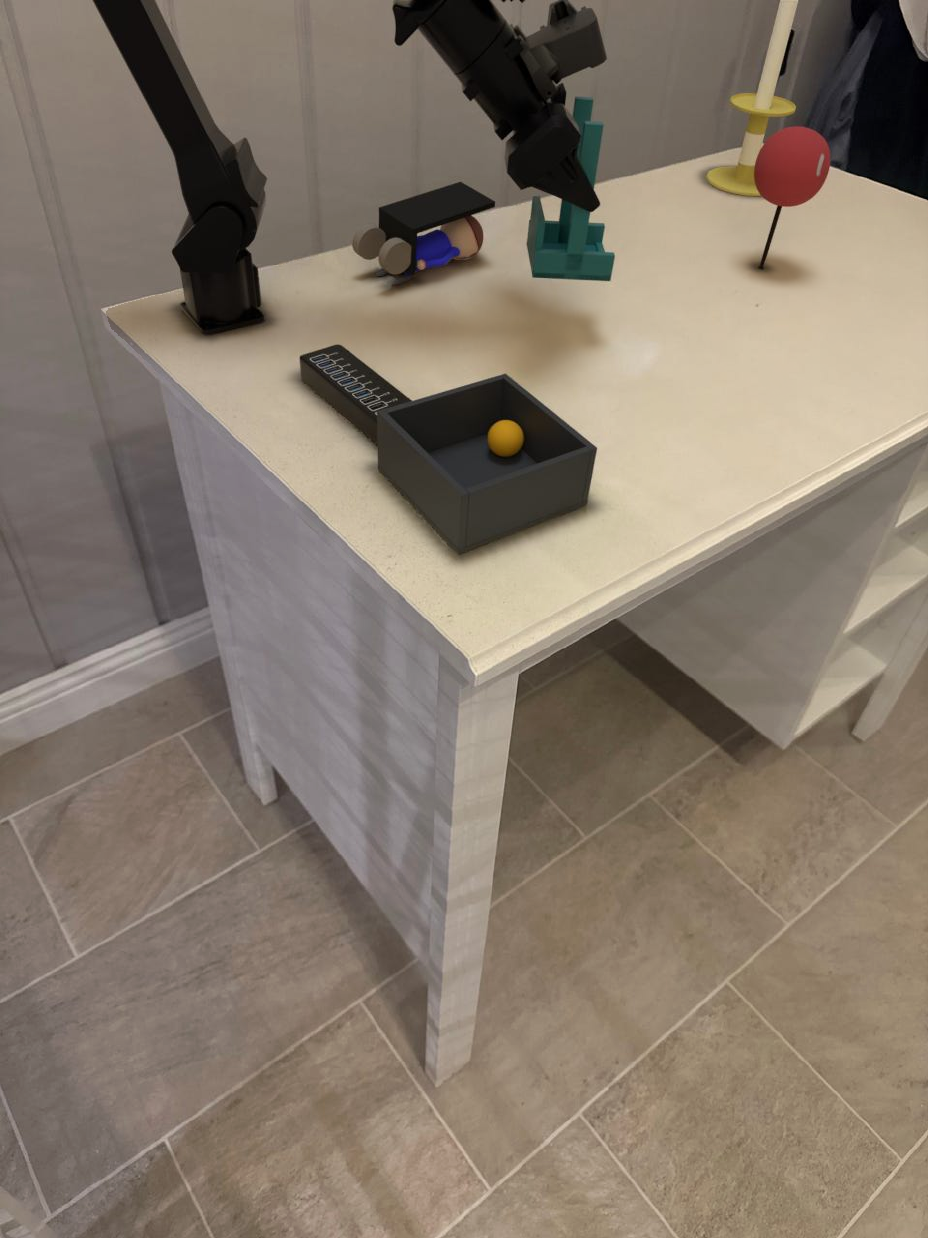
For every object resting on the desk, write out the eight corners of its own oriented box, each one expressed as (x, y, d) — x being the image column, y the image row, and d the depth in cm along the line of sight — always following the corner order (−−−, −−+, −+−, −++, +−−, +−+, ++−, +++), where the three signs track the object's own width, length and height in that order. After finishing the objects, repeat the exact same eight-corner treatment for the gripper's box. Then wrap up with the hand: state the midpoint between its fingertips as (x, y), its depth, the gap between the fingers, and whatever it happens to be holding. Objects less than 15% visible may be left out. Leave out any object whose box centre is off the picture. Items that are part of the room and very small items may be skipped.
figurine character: (392, 310, 97) (497, 260, 103) (385, 241, 92) (497, 193, 98) (355, 286, 101) (459, 239, 107) (346, 218, 95) (456, 173, 101)
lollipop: (723, 274, 105) (760, 132, 94) (735, 248, 110) (771, 111, 99) (790, 288, 103) (836, 146, 93) (799, 262, 108) (843, 124, 98)
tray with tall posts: (532, 277, 86) (550, 121, 77) (526, 244, 91) (542, 93, 82) (610, 281, 87) (638, 126, 77) (600, 248, 92) (624, 98, 82)
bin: (458, 555, 68) (462, 495, 64) (377, 469, 75) (376, 410, 71) (586, 505, 73) (597, 447, 69) (500, 429, 80) (505, 372, 76)
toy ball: (477, 442, 77) (493, 410, 76) (507, 455, 78) (523, 423, 77) (486, 453, 74) (503, 420, 73) (518, 467, 75) (534, 433, 74)
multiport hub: (340, 365, 86) (339, 342, 85) (431, 438, 78) (432, 415, 77) (299, 378, 84) (297, 355, 83) (388, 455, 76) (388, 431, 75)
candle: (766, 201, 121) (836, -47, 102) (695, 183, 125) (749, -61, 106) (788, 179, 128) (857, -59, 109) (720, 163, 131) (775, -71, 112)
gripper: (569, -5, 66) (686, 166, 74) (545, -55, 79) (646, 95, 87) (454, 110, 71) (575, 257, 79) (449, 45, 84) (554, 177, 92)
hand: (590, 191), depth 84 cm, fingers closed on tray with tall posts, 7 cm apart
